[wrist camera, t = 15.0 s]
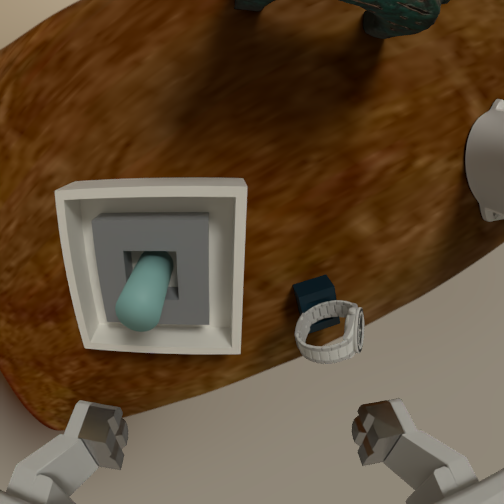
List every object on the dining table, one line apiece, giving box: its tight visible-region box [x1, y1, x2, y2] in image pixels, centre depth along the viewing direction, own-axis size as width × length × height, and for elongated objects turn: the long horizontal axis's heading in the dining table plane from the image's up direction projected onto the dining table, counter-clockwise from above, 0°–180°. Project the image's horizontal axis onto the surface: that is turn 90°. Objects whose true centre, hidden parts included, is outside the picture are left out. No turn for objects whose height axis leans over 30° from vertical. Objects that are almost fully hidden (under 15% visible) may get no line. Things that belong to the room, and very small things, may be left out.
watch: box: [293, 275, 364, 364], centre depth 35 cm, size 6×8×11 cm
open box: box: [55, 178, 247, 354], centre depth 33 cm, size 19×19×5 cm
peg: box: [115, 251, 173, 332], centre depth 30 cm, size 4×4×10 cm
